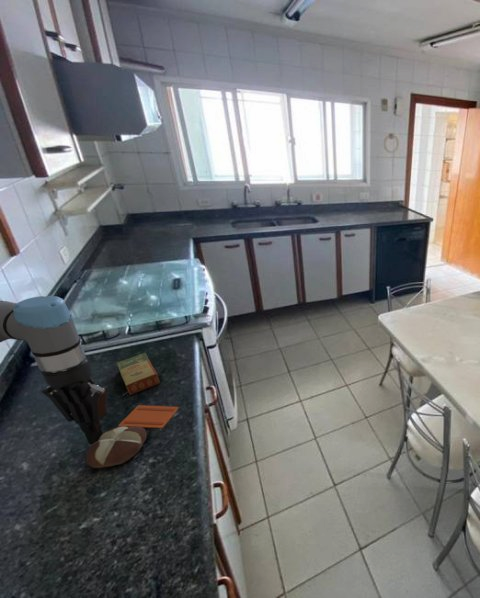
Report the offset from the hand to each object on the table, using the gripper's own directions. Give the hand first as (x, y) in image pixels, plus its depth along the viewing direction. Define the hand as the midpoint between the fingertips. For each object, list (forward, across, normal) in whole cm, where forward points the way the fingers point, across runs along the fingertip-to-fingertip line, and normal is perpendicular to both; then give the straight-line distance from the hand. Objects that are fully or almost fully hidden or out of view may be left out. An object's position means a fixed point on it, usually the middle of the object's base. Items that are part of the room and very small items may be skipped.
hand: (96, 439), depth 83 cm
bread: (+2, -6, +1) cm, 7 cm away
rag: (+2, -6, -10) cm, 12 cm away
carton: (+2, +8, -27) cm, 28 cm away
